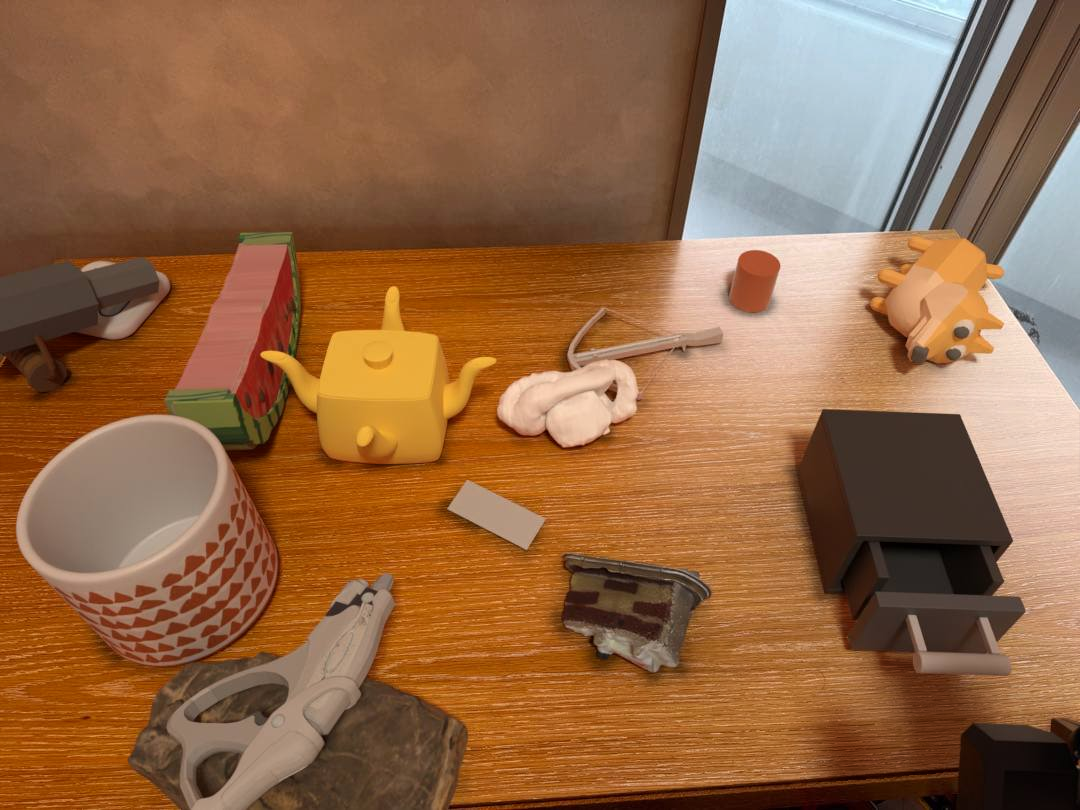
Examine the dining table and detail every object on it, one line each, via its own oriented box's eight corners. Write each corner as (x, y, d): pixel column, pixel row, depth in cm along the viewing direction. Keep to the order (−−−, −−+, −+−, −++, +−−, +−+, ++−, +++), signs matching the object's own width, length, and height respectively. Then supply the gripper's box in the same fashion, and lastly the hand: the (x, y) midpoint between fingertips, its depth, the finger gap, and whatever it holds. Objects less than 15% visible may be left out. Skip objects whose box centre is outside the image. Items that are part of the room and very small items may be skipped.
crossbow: (585, 415, 79) (585, 401, 78) (553, 328, 88) (553, 313, 86) (743, 383, 81) (746, 368, 80) (697, 300, 90) (699, 285, 88)
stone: (251, 612, 64) (235, 579, 60) (491, 751, 57) (489, 723, 54) (117, 768, 56) (89, 741, 52) (377, 949, 50) (366, 933, 46)
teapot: (499, 427, 77) (498, 352, 70) (377, 515, 70) (362, 441, 63) (399, 348, 84) (389, 272, 77) (279, 421, 77) (255, 345, 70)
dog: (846, 294, 81) (983, 344, 74) (929, 207, 91) (1055, 244, 85) (831, 356, 86) (957, 408, 80) (911, 267, 97) (1028, 306, 90)
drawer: (1004, 709, 60) (1049, 668, 55) (862, 704, 60) (895, 662, 55) (940, 527, 70) (973, 479, 65) (819, 523, 70) (843, 474, 65)
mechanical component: (119, 227, 85) (126, 309, 91) (-75, 271, 73) (-52, 362, 79) (176, 273, 81) (180, 355, 87) (-19, 327, 69) (1, 418, 75)
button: (174, 272, 89) (120, 333, 82) (179, 284, 90) (126, 345, 83) (90, 255, 90) (30, 314, 83) (96, 267, 91) (37, 327, 85)
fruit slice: (265, 492, 69) (238, 400, 63) (188, 494, 69) (153, 402, 62) (313, 314, 89) (296, 230, 83) (254, 315, 89) (233, 231, 82)
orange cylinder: (777, 300, 91) (789, 264, 87) (752, 318, 89) (763, 281, 85) (745, 281, 93) (755, 244, 89) (720, 297, 91) (729, 261, 87)
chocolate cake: (525, 636, 64) (635, 649, 54) (553, 550, 67) (662, 548, 57) (611, 677, 68) (726, 696, 59) (634, 595, 71) (747, 600, 62)
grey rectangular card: (447, 509, 71) (449, 512, 71) (526, 550, 68) (527, 553, 69) (467, 479, 72) (468, 483, 73) (546, 518, 69) (547, 522, 70)
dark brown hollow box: (966, 599, 67) (1014, 541, 60) (824, 594, 67) (857, 535, 60) (922, 475, 75) (960, 413, 69) (796, 471, 75) (822, 408, 69)
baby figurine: (480, 384, 75) (513, 468, 73) (593, 319, 72) (633, 406, 69) (521, 399, 83) (552, 476, 80) (625, 341, 79) (662, 419, 77)
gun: (323, 562, 63) (432, 604, 59) (132, 791, 51) (252, 865, 47) (311, 536, 61) (423, 578, 57) (109, 768, 49) (233, 843, 45)
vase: (193, 489, 71) (130, 388, 62) (315, 554, 66) (268, 455, 57) (62, 618, 64) (-32, 525, 54) (190, 703, 59) (111, 616, 49)
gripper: (1579, 704, 31) (1232, 591, 47) (1081, 686, 31) (900, 579, 47) (1551, 992, 32) (1217, 785, 47) (1061, 974, 32) (889, 773, 47)
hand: (1056, 726), depth 47 cm, fingers closed
